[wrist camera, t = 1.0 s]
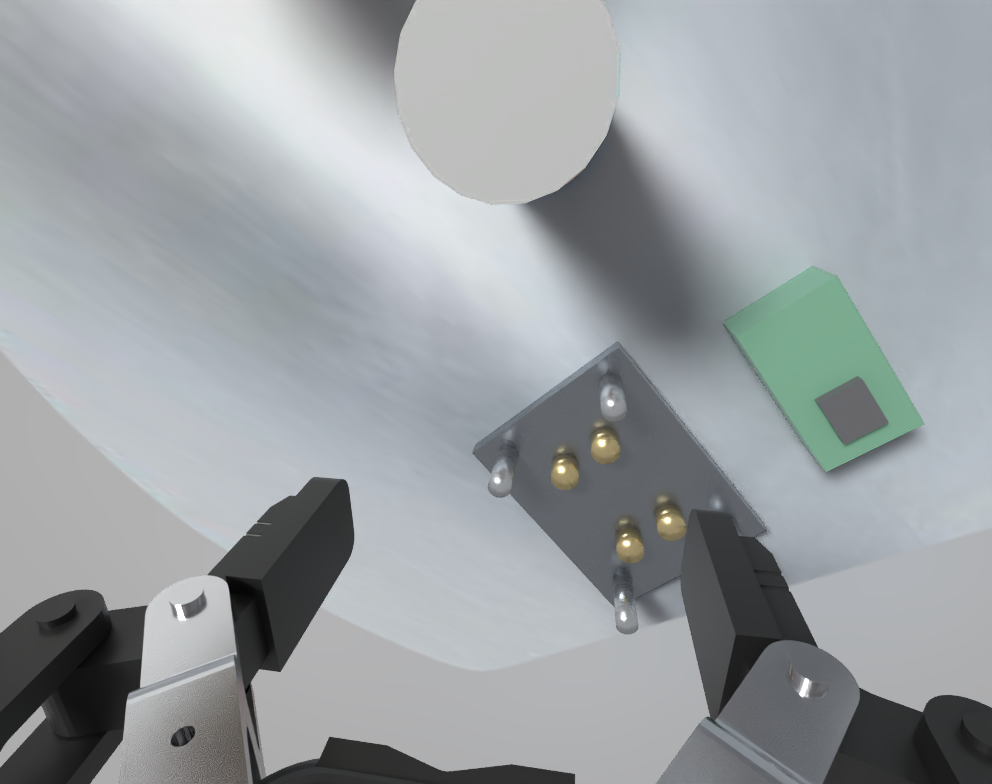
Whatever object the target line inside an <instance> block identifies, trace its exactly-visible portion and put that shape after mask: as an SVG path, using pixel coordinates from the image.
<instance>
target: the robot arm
mask: <svg viewBox="0 0 992 784" xmlns="http://www.w3.org/2000/svg"><path fill="white" fill-rule="evenodd" d="M353 544H354V527H353V519H352V510H351V502H350V494H349V487H348V484H347V482H346V480H344V479H332V478H320V477H313V478H312V479H311V480H310V481H309V482H308V483H307V484H306V485H305V486H304V487H303V489H302V490H301V491H300V492H299V493H298V494H297V495H296V496H289V497H287V498H285V499H283V500H282V501H280V502H278V503H277V504H275V505H273V506H272V507H270V508H269V509H268V510H267V511H266V513H265V514H264V515H263V516H262V517H261V518H260V519H259V520H258V521H257V524H254V525H253V526H252V528H251V529H250V530H249V531H248V532H247V534H246V536H243V537H242V538H241V539H240V540H239V541H238V543H237V544H236V545H235V546H234V547H233V548H232V549H231V550H230V551H229V552H228V553H227V554H226V555H225V556H224V558H223V559H222V560H221V561H220V562H219V563H218V564H217V565H216V566H215V567H214V568H213V569H212V570H211V572H210V573H209V574H208V575H205V576H204V575H203V576H195V577H191V578H187V579H184V580H181V581H179V582H177V583H174V584H173V585H171V586H169V587H167V588H166V589H164V590H163V591H162V592H160V593H159V594H158V595H157V596H155V598H154V599H153V600H152V601H151V602H150V604H149V605H148V606H140V607H134V608H125V609H118V610H111V611H108V610H107V607H106V604H105V601H104V598H103V596H102V595H101V594H100V593H98V592H96V591H93V590H75V591H71V592H66V593H63V594H59V595H57V596H54V597H52V598H49V599H47V600H45V601H43V602H41V603H39V604H37V605H36V606H34V607H32V608H31V609H29V610H28V611H27V612H25V613H24V614H23V615H22V616H20V617H19V618H18V619H17V620H16V621H14V622H13V623H12V624H11V625H10V626H9V627H7V628H6V629H5V630H4V631H3V632H1V633H0V751H1V750H2V748H3V746H4V745H5V743H6V742H7V741H8V740H9V739H10V737H11V736H12V735H13V734H14V733H15V732H16V731H17V730H18V729H19V728H20V727H21V726H22V725H23V724H24V723H25V722H26V721H27V719H28V718H29V717H30V716H31V715H32V714H33V713H34V712H35V711H36V710H37V709H38V708H39V707H40V706H42V708H43V710H44V712H45V715H46V719H45V720H44V721H43V722H42V723H41V724H40V725H39V726H38V727H37V728H36V729H35V731H34V732H33V733H32V734H31V735H30V736H29V737H28V738H27V739H26V740H25V741H24V742H23V744H22V745H21V746H20V747H19V748H18V749H17V750H16V751H15V752H14V753H13V755H11V757H10V758H9V759H8V760H7V761H6V762H5V763H4V764H3V765H2V766H1V767H0V784H90V783H91V782H92V780H93V779H94V778H95V776H96V775H97V774H98V772H99V771H100V770H101V768H102V767H103V765H104V764H105V763H106V761H107V760H108V759H109V757H110V756H111V755H112V753H113V752H114V751H115V749H116V748H117V747H118V745H119V744H120V743H121V741H122V740H123V745H122V755H121V766H120V776H119V784H575V774H571V773H564V772H558V771H551V770H545V769H538V768H532V767H525V766H518V765H512V764H511V765H503V766H494V767H486V768H478V769H468V770H460V771H449V772H446V771H441V770H438V769H436V768H434V767H432V766H430V765H428V764H425V763H423V762H421V761H419V760H417V759H415V758H413V757H410V756H408V755H406V754H404V753H402V752H400V751H398V750H395V749H393V748H391V747H389V746H387V745H380V744H374V743H367V742H360V741H354V740H347V739H340V738H333V737H329V739H328V741H327V744H326V746H325V748H324V750H323V753H322V755H321V757H320V759H313V760H308V761H305V762H300V763H297V764H294V765H291V766H289V767H286V768H284V769H281V770H279V771H277V772H275V773H273V774H271V775H269V776H267V777H266V773H265V767H264V761H263V754H262V747H261V741H260V735H259V727H258V720H257V713H256V707H255V700H254V693H253V688H252V684H251V681H252V679H253V678H254V676H255V675H256V673H257V671H258V670H259V669H263V670H270V671H277V672H281V670H282V668H283V667H284V665H285V664H286V662H287V660H288V659H289V657H290V655H291V654H292V652H293V650H294V649H295V647H296V645H297V644H298V642H299V641H300V639H301V637H302V635H303V634H304V632H305V631H306V629H307V627H308V626H309V624H310V622H311V620H312V619H313V617H314V616H315V614H316V612H317V611H318V609H319V608H320V606H321V604H322V603H323V601H324V599H325V598H326V596H327V594H328V593H329V591H330V589H331V588H332V586H333V584H334V583H335V581H336V580H337V578H338V576H339V575H340V573H341V571H342V570H343V568H344V566H345V565H346V563H347V561H348V560H349V558H350V555H351V553H352V549H353ZM681 591H682V597H683V601H684V605H685V610H686V614H687V618H688V623H689V627H690V631H691V635H692V640H693V644H694V648H695V653H696V657H697V661H698V666H699V669H700V674H701V679H702V683H703V687H704V692H705V696H706V700H707V704H708V709H709V713H710V717H706V718H704V719H703V720H702V721H701V722H700V723H699V725H698V726H697V727H696V729H695V730H694V732H693V733H692V734H691V736H690V737H689V738H688V740H687V741H686V743H685V744H684V745H683V747H682V748H681V750H680V751H679V752H678V754H677V755H676V756H675V758H674V759H673V761H672V762H671V763H670V765H669V766H668V768H667V769H666V771H665V772H664V773H663V775H662V776H661V777H660V779H659V780H658V782H657V783H656V784H992V708H991V707H989V706H987V705H984V704H982V703H980V702H977V701H974V700H971V699H968V698H964V697H960V696H953V695H941V696H937V697H934V698H932V699H931V700H929V702H928V703H927V704H926V706H925V708H924V711H923V712H920V711H917V710H915V709H912V708H909V707H906V706H904V705H901V704H898V703H895V702H892V701H889V700H886V699H884V698H881V697H879V696H876V695H874V694H871V693H869V692H867V691H865V690H863V689H861V688H859V687H858V684H857V682H856V680H855V678H854V677H853V675H852V674H851V673H850V671H849V670H848V669H847V668H846V667H845V666H844V665H843V664H842V663H841V662H840V661H839V660H837V659H836V658H834V657H833V656H832V655H830V654H829V653H827V652H825V651H823V650H822V649H819V648H818V646H817V644H816V642H815V641H814V638H813V636H812V634H811V633H810V630H809V628H808V626H807V624H806V622H805V620H804V618H803V616H802V614H801V612H800V610H799V608H798V606H797V604H796V602H795V600H794V598H793V596H792V594H791V592H789V587H788V585H787V583H786V581H785V579H784V577H783V576H781V571H780V569H779V567H778V565H777V563H776V561H775V559H774V557H773V555H772V553H770V552H769V551H768V550H767V549H766V548H765V547H764V546H763V545H762V544H761V543H760V542H759V541H758V540H756V539H755V538H754V537H745V536H739V535H738V533H737V530H736V528H735V525H734V523H733V521H732V518H731V516H730V514H729V513H728V512H725V511H712V510H700V509H692V510H691V512H690V515H689V520H688V526H687V532H686V538H685V545H684V551H683V557H682V564H681Z"/></svg>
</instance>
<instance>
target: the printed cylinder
mask: <svg viewBox="0 0 992 784" xmlns="http://www.w3.org/2000/svg"><path fill="white" fill-rule="evenodd" d="M394 81H395V91H396V101H397V110H398V115H399V117H400V120H401V122H402V125H403V127H404V130H405V133H406V135H407V138H408V140H409V143H410V145H411V148H412V149H413V150H414V152H415V153H416V154H417V156H418V157H419V158H420V160H421V161H422V162H423V163H424V165H425V166H426V167H427V169H428V170H429V171H430V173H431V174H432V175H433V176H434V177H435V178H437V179H438V180H440V181H441V182H442V183H444V184H445V185H447V186H448V187H450V188H451V189H452V190H454V191H455V192H457V193H458V194H460V195H461V196H465V197H468V198H471V199H475V200H478V201H481V202H485V203H488V204H491V205H498V204H520V203H527V202H530V201H532V200H535V199H537V198H540V197H542V196H545V195H547V194H550V193H553V192H555V191H557V190H559V189H560V188H562V187H563V186H565V185H566V184H568V183H569V182H570V181H572V180H573V179H574V178H575V177H576V176H578V175H579V174H580V173H581V172H582V171H584V169H585V168H586V166H587V165H588V163H589V162H590V160H591V159H592V157H593V156H594V154H595V153H596V151H597V150H598V148H599V146H600V145H601V143H602V142H603V140H604V139H605V137H606V136H607V133H608V129H609V126H610V123H611V120H612V117H613V114H614V111H615V107H616V104H617V101H618V98H619V81H620V51H619V47H618V43H617V40H616V36H615V32H614V28H613V24H612V20H611V17H610V13H609V11H608V10H607V8H606V7H605V5H604V4H603V2H602V0H416V1H415V3H414V5H413V7H412V10H411V12H410V14H409V16H408V18H407V20H406V22H405V24H404V27H403V29H402V31H401V33H400V38H399V44H398V50H397V56H396V62H395V68H394Z"/></svg>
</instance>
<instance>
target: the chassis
mask: <svg viewBox="0 0 992 784" xmlns="http://www.w3.org/2000/svg"><path fill="white" fill-rule="evenodd" d="M473 454H474V455H475V456H476V458H477V459H478V460H479V461H480V462H481V463H482V464H483V465H484V466H485V467H486V468H487V469H488V471H489V472H490V473H491V477H490V480H489V483H488V490H489V492H490V493H491V494H492V495H493V496H495V497H499V498H502V497H505V496H507V495H508V494H509V493H510V494H511V496H512V497H513V498H514V499H515V500H516V501H517V502H518V503H519V504H520V505H521V506H522V507H523V509H524V510H525V511H526V512H527V513H528V514H529V515H530V516H531V517H532V518H533V519H534V520H535V522H536V523H537V524H538V525H539V526H540V527H541V528H542V529H543V530H544V531H545V532H546V534H547V535H548V536H549V537H550V538H551V539H552V540H553V541H554V542H555V543H556V544H557V545H558V547H559V548H560V549H561V550H562V551H563V552H564V553H565V554H566V555H567V556H568V557H569V559H570V560H571V561H572V562H573V563H574V564H575V565H576V566H577V567H578V568H579V569H580V570H581V572H582V573H583V574H584V575H585V576H586V577H587V578H588V579H589V580H590V581H591V582H592V583H593V585H594V586H595V587H596V588H597V589H598V590H599V591H600V592H601V593H602V594H603V595H604V597H605V598H606V599H607V600H608V601H609V602H610V603H611V604H612V605H613V606H614V607H615V617H616V628H617V630H618V631H619V632H621V633H623V634H632V633H634V632H636V631H637V629H638V620H637V612H636V604H635V598H637V597H639V596H641V595H643V594H645V593H647V592H649V591H651V590H652V589H654V588H656V587H658V586H660V585H662V584H664V583H666V582H668V581H670V580H672V579H674V578H676V577H677V576H679V575H681V564H682V557H683V551H684V545H685V538H686V532H687V526H688V520H689V515H690V512H691V510H692V509H700V510H712V511H725V512H728V513H729V514H730V516H731V518H732V521H733V523H734V525H735V528H736V530H737V533H738V535H739V536H745V537H754V536H756V535H758V534H760V533H762V532H764V531H766V529H765V527H764V525H763V523H762V521H761V520H760V518H759V517H758V516H757V515H756V513H755V512H754V511H753V510H752V508H751V507H750V506H749V505H748V503H747V502H746V501H745V500H744V498H743V497H742V496H741V495H740V493H739V492H738V491H737V490H736V488H735V487H734V486H733V485H732V483H731V482H730V481H729V480H728V478H727V477H726V476H725V475H724V473H723V472H722V471H721V470H720V468H719V467H718V466H717V465H716V463H715V462H714V461H713V460H712V459H711V457H710V456H709V455H708V454H707V452H706V451H705V450H704V449H703V447H702V446H701V445H700V444H699V442H698V441H697V440H696V439H695V437H694V436H693V435H692V434H691V432H690V431H689V430H688V429H687V427H686V426H685V425H684V424H683V422H682V421H681V420H680V419H679V417H678V416H677V415H676V414H675V412H674V411H673V410H672V409H671V407H670V406H669V405H668V404H667V402H666V401H665V400H664V399H663V397H662V396H661V395H660V394H659V392H658V391H657V390H656V389H655V387H654V386H653V385H652V384H651V383H650V381H649V380H648V379H647V378H646V376H645V375H644V374H643V373H642V371H641V370H640V369H639V368H638V366H637V365H636V364H635V363H634V361H633V360H632V359H631V358H630V356H629V355H628V354H627V353H626V351H625V350H624V349H623V348H622V346H621V345H620V344H619V343H618V342H616V343H615V344H614V345H612V346H611V347H609V348H608V349H607V350H605V351H604V352H603V353H601V354H600V355H598V356H597V357H596V358H594V359H593V360H592V361H590V362H589V363H587V364H586V365H585V366H583V367H582V368H581V369H579V370H578V371H576V372H575V373H574V374H572V375H571V376H570V377H568V378H567V379H565V380H564V381H563V382H561V383H560V384H559V385H557V386H556V387H554V388H553V389H552V390H550V391H549V392H548V393H546V394H545V395H543V396H542V397H541V398H539V399H538V400H536V401H535V402H534V403H532V404H531V405H530V406H528V407H527V408H525V409H524V410H523V411H521V412H520V413H519V414H517V415H516V416H514V417H513V418H512V419H510V420H509V421H508V422H506V423H505V424H503V425H502V426H501V427H499V428H498V429H497V430H495V431H494V432H492V433H491V434H490V435H488V436H487V437H486V438H484V439H483V440H481V441H480V442H479V443H477V444H476V445H475V447H474V450H473Z"/></svg>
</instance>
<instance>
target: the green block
mask: <svg viewBox="0 0 992 784" xmlns="http://www.w3.org/2000/svg"><path fill="white" fill-rule="evenodd" d="M722 323H723V324H724V326H725V327H726V329H727V330H728V332H729V333H730V335H731V336H732V338H733V339H734V341H735V342H736V344H737V345H738V347H739V348H740V350H741V351H742V353H743V354H744V356H745V357H746V359H747V360H748V362H749V363H750V365H751V366H752V368H753V369H754V371H755V372H756V374H757V376H758V377H759V379H760V380H761V382H762V383H763V385H764V386H765V388H766V389H767V391H768V392H769V394H770V395H771V397H772V398H773V400H774V401H775V403H776V404H777V406H778V407H779V409H780V410H781V412H782V413H783V415H784V416H785V418H786V419H787V421H788V422H789V424H790V425H791V427H792V428H793V430H794V431H795V433H796V434H797V436H798V437H799V439H800V440H801V442H802V443H803V445H804V446H805V448H806V449H807V450H808V451H809V453H810V454H811V455H812V456H813V457H814V459H815V460H816V461H817V462H818V464H819V465H820V466H821V467H822V468H823V470H824V471H825V472H828V471H830V470H832V469H834V468H836V467H838V466H840V465H842V464H844V463H846V462H848V461H850V460H852V459H854V458H856V457H858V456H860V455H862V454H864V453H866V452H868V451H870V450H872V449H875V448H877V447H879V446H881V445H883V444H885V443H887V442H889V441H891V440H893V439H895V438H897V437H899V436H901V435H903V434H905V433H907V432H909V431H911V430H913V429H915V428H917V427H919V426H922V425H924V422H923V420H922V418H921V417H920V415H919V413H918V412H917V410H916V408H915V407H914V405H913V403H912V402H911V400H910V398H909V396H908V395H907V393H906V391H905V390H904V388H903V386H902V385H901V383H900V381H899V380H898V378H897V376H896V374H895V373H894V371H893V369H892V368H891V366H890V364H889V363H888V361H887V359H886V358H885V356H884V354H883V352H882V351H881V349H880V347H879V346H878V344H877V342H876V341H875V339H874V337H873V336H872V334H871V332H870V331H869V329H868V327H867V325H866V324H865V322H864V320H863V319H862V317H861V315H860V314H859V312H858V310H857V309H856V307H855V305H854V303H853V302H852V300H851V298H850V297H849V295H848V293H847V292H846V290H845V288H844V287H843V285H842V283H841V281H840V280H839V278H838V276H836V275H833V274H831V273H828V272H826V271H823V270H821V269H818V268H816V267H813V266H812V267H810V268H809V269H807V270H805V271H804V272H802V273H801V274H799V275H797V276H796V277H794V278H793V279H791V280H789V281H788V282H786V283H785V284H783V285H781V286H780V287H778V288H777V289H775V290H773V291H772V292H770V293H769V294H767V295H765V296H764V297H762V298H761V299H759V300H757V301H756V302H754V303H753V304H751V305H749V306H748V307H746V308H744V309H743V310H741V311H740V312H738V313H736V314H735V315H733V316H732V317H730V318H728V319H727V320H725V321H724V322H722Z"/></svg>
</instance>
